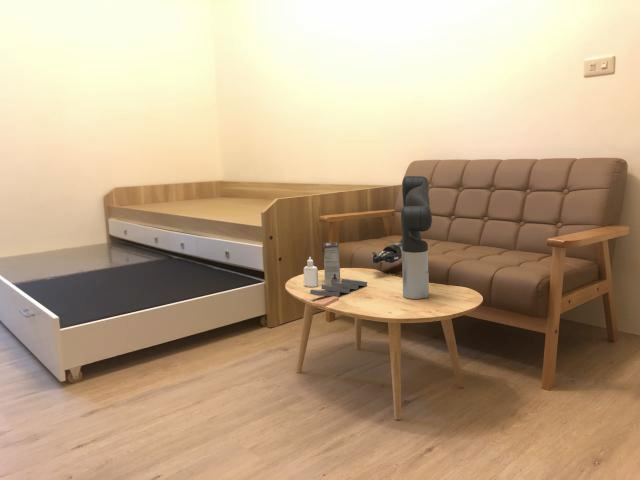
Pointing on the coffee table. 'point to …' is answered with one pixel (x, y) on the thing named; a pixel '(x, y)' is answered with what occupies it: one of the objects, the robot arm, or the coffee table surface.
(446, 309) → the coffee table surface
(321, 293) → the domino
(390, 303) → the coffee table surface
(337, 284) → the domino
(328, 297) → the domino
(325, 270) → the coffee box
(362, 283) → the domino
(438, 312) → the coffee table surface
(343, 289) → the domino
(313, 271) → the eye dropper bottle
